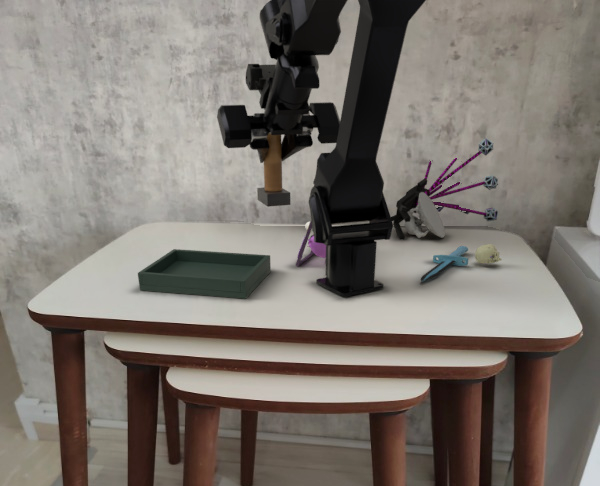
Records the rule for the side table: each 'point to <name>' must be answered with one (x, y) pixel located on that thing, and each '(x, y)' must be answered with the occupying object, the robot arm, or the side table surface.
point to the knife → (446, 262)
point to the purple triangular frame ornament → (315, 247)
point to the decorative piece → (413, 194)
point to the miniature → (425, 218)
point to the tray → (205, 273)
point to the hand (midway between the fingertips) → (270, 160)
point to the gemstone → (487, 254)
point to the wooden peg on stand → (273, 176)
